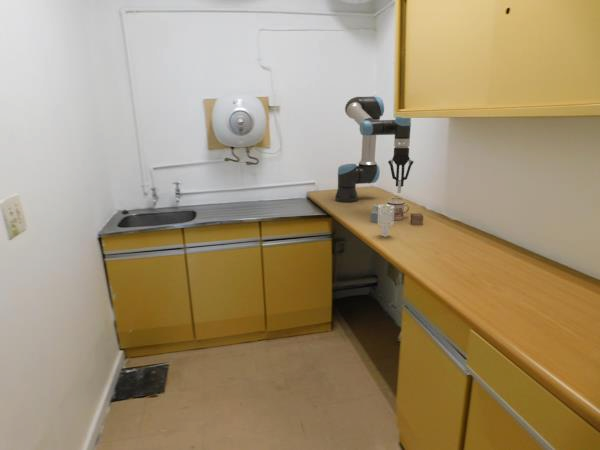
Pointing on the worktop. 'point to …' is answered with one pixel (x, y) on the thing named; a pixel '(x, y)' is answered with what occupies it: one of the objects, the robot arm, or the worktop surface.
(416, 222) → the walnut block
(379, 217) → the pale grey tall piece
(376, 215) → the slate block
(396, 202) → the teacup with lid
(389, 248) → the worktop surface
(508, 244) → the worktop surface
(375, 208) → the sage block
